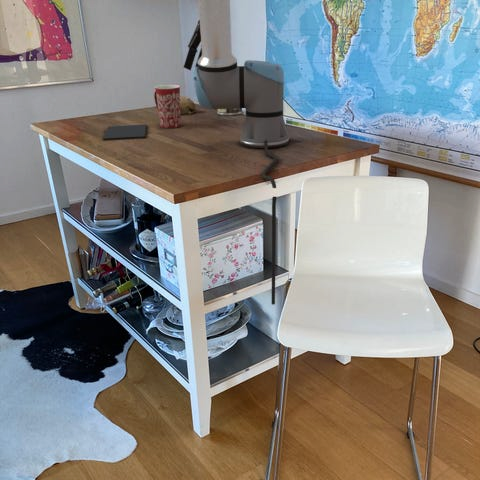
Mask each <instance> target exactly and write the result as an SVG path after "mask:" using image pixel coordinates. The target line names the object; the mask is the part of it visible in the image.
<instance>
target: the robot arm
mask: <svg viewBox="0 0 480 480" xmlns="http://www.w3.org/2000/svg"><path fill="white" fill-rule="evenodd" d="M198 13H199V14H198V15H199V19H198V21H197V24H196V27H195V29H194V31H193V34H192V36H191V38H190V40H189V42H188V44H187V48H188V51H187V55H186V57H185V61H184V63H183V69H186V70H188V71H192V76H193V85H194V92H195V95H196V99H197V103H198V105H199V106H200V107H201V108H202V109H204V110H215V111H217V109H239V108H242V109H245V120H244V123H243V127H242V130H241V133H240V139H239V140H240V145H241V146H243V147H246V148H251V149H264V153H265V155H266V156H268V157H269V158H271V159H273V160H272V161H271V162H270V163H269V164H268V165H267V166H266V167H265V168H264V170H263V171H262V173H261V178H262V179H263V180H265V181H269V182H270V183H271V187H272V189H277V183H276V180H275V179H274V178H273V177H272V176H270V175H266V174H267V173H268V172H269V171H270V170H271V168H272V167H274V166H275V165H276V164H277V163H278V159H279V158H278V156H277V155H276V154H273V153H271V152H270V151H269V149H275V148H276V149H277V148H282V147H285V146H287V145H288V144H289V141H290V137H289V132H288V129H287V125H286V122H285V119H284V96H285V95H284V91H285V90H284V89H285V87H284V86H285V85H284V84H285V71H284V68H283V66H282V65H281V64H278V63H276V62H270V61H264V60H254V59H253V60H252V59H251V60H250V59H248V60H245V61H244V63H243V65H238V59H237V58H236V56H235V55H233V53H232V49H233V48H232V24H231V23H232V22H231V21H232V20H231V0H198ZM200 44H201V45H200ZM199 46H200V50H199V53H198V48H199ZM197 53H198V57H197V59H196V63H195V65H194V68H193V64H194V61H195V58H196V55H197ZM192 68H193V69H192ZM271 199H272V201H271V305H273V306H274V305H276V260H277V259H276V256H277V255H276V253H277V250H276V249H277V248H276V247H277V246H276V245H277V229H276V228H277V196H272V198H271Z"/></svg>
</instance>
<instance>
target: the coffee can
mask: <svg viewBox="0 0 480 480" xmlns="http://www.w3.org/2000/svg"><path fill="white" fill-rule="evenodd" d="M216 112H217V115H220V116H236V115H237V116H238V115H241V114H243V108H239V109H216Z"/></svg>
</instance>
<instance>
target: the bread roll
mask: <svg viewBox="0 0 480 480" xmlns="http://www.w3.org/2000/svg"><path fill="white" fill-rule="evenodd" d="M196 111H197V110H196V105H195V102H194V101H193V100H192V99H191V98H190V97H187V96H183V95H181V96H180V116H181V115H191V114H193V113H195V112H196Z"/></svg>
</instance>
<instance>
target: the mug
mask: <svg viewBox="0 0 480 480" xmlns="http://www.w3.org/2000/svg"><path fill="white" fill-rule="evenodd" d="M154 90H155V91H154V93H153V97H154V98H153V99H154V102H155V106H156V109H157V112H158V116H159V124H160V127H161V128H163V129H176V128H179V127H181V122H182V121H181V115H180V97H181V86H180V85H178V84H163V85H162V84H161V85H156V86H154Z"/></svg>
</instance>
